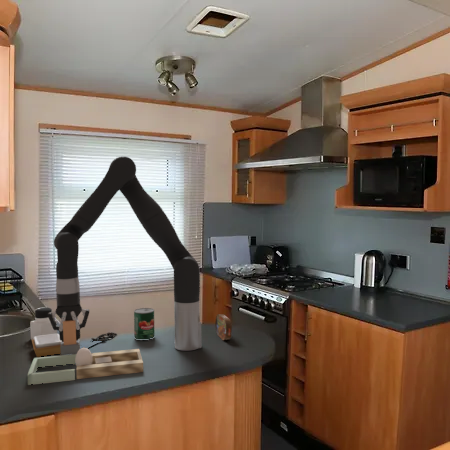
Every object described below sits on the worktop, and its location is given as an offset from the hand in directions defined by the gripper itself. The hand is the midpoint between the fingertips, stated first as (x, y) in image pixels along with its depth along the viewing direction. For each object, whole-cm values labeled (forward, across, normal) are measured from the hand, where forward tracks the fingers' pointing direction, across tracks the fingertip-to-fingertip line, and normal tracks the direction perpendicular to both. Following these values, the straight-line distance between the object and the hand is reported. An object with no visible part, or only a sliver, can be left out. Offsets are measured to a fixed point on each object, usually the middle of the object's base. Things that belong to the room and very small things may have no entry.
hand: (70, 340), depth 157 cm
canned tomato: (+7, -27, -17) cm, 32 cm away
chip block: (+7, -10, +12) cm, 18 cm away
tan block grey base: (+4, 0, 0) cm, 4 cm away
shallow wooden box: (+7, -12, +12) cm, 19 cm away
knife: (+7, -8, -15) cm, 18 cm away
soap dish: (+7, +8, -10) cm, 15 cm away
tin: (+8, -57, -8) cm, 58 cm away
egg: (+7, -4, +12) cm, 15 cm away
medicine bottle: (+6, +11, -28) cm, 31 cm away
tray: (+6, +5, +12) cm, 15 cm away
